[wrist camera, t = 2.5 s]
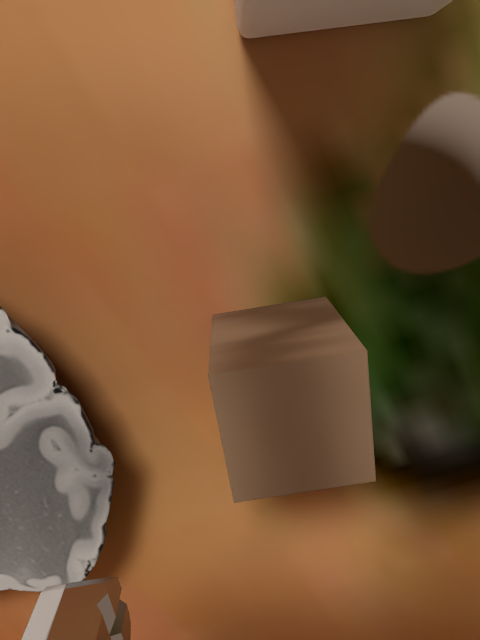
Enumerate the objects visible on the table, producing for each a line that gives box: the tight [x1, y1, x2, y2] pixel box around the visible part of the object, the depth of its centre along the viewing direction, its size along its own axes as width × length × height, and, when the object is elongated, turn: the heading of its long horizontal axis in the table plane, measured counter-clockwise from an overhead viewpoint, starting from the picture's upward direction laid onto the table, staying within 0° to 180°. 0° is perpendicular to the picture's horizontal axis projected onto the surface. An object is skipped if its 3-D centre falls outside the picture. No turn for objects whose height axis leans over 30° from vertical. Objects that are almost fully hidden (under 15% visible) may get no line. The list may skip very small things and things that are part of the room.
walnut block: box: [208, 297, 376, 503], centre depth 18 cm, size 5×5×6 cm
